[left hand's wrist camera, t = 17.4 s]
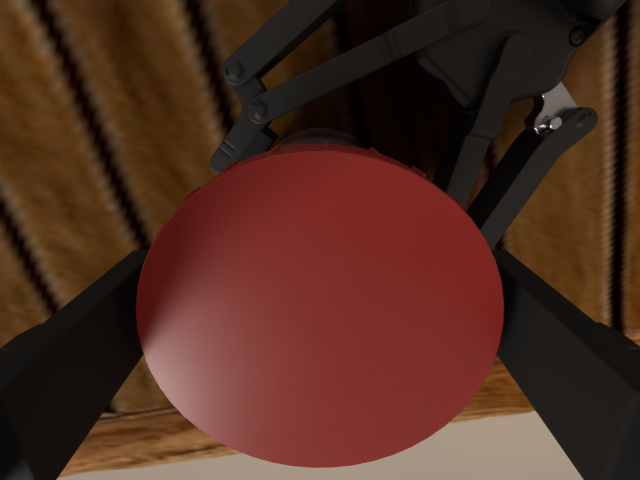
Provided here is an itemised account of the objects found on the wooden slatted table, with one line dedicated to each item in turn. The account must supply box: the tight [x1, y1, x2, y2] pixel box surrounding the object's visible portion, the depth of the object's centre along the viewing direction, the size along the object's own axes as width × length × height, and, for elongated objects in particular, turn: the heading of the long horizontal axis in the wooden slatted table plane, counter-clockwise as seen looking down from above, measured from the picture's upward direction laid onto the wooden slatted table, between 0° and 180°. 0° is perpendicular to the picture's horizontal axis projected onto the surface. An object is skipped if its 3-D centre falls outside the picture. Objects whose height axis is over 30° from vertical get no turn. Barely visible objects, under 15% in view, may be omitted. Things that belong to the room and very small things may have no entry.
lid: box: [136, 140, 504, 468], centre depth 11 cm, size 10×10×2 cm
